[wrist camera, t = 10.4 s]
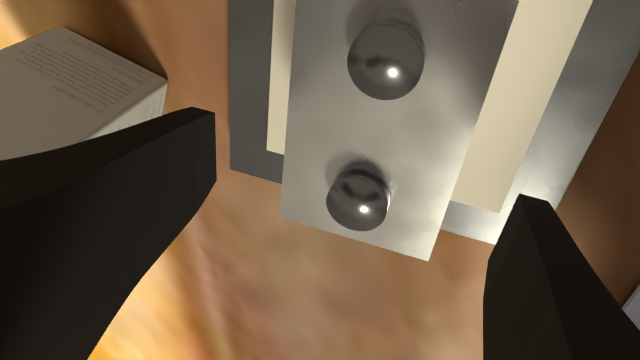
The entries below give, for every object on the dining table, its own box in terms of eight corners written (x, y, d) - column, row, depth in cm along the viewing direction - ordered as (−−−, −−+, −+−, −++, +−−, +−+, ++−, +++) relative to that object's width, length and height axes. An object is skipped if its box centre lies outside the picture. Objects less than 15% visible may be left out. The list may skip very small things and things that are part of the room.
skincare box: (62, 93, 26) (-198, 239, 16) (62, 17, 23) (-251, 139, 13) (163, 145, 26) (-38, 324, 16) (176, 75, 23) (-59, 240, 13)
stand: (529, 232, 22) (532, 263, 20) (243, 153, 24) (225, 174, 23) (718, -139, 13) (747, -137, 12) (248, -201, 16) (220, -206, 14)
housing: (515, -42, 14) (519, 9, 10) (444, 175, 19) (425, 274, 15) (352, -71, 15) (290, -36, 11) (323, 143, 20) (272, 228, 15)
